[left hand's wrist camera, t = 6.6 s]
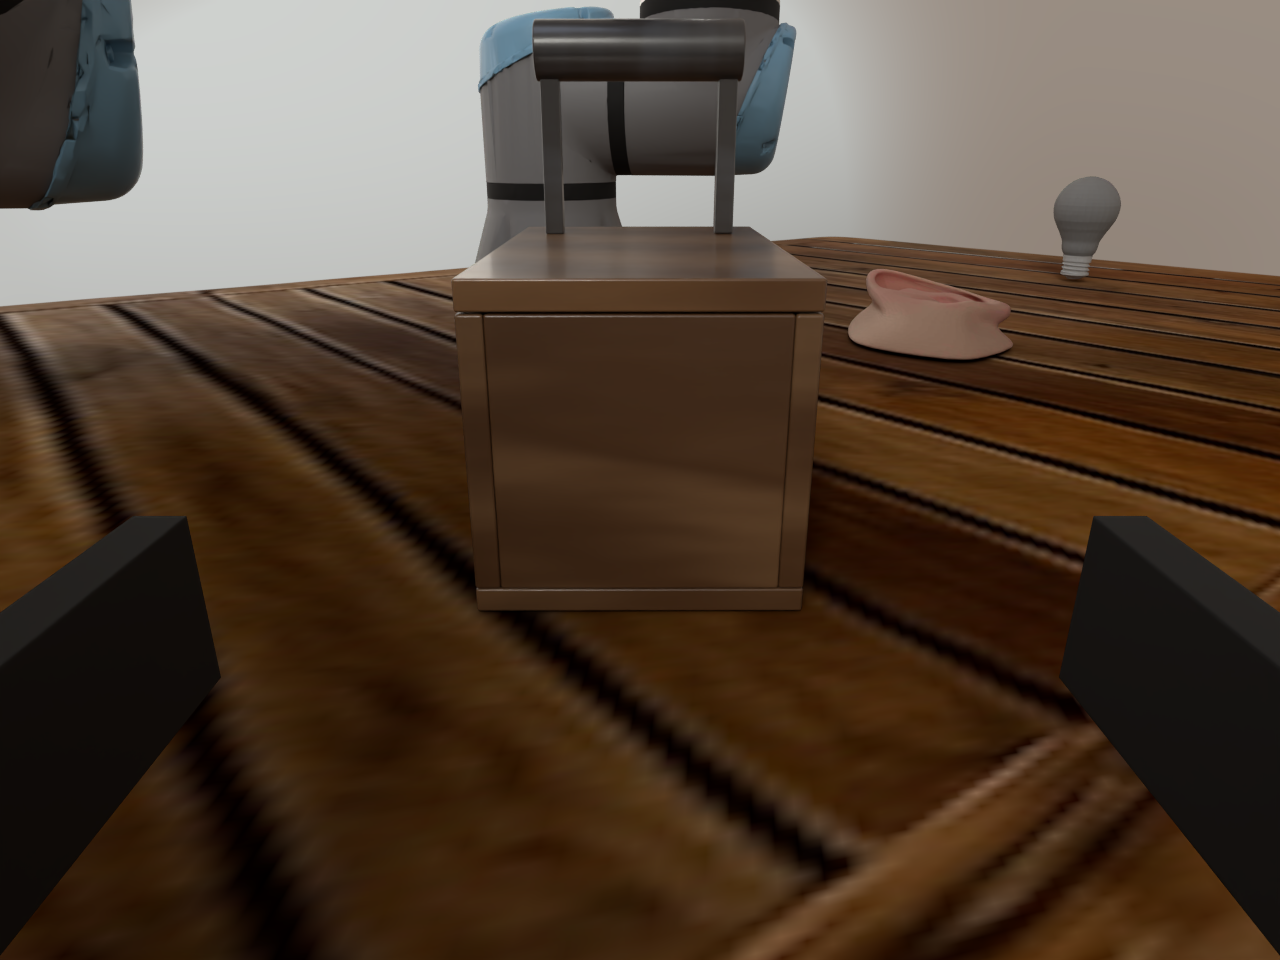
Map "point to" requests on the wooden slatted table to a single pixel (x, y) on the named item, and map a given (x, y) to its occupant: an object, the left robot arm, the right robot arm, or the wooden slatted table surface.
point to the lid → (639, 256)
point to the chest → (639, 457)
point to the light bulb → (1084, 221)
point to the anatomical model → (928, 319)
